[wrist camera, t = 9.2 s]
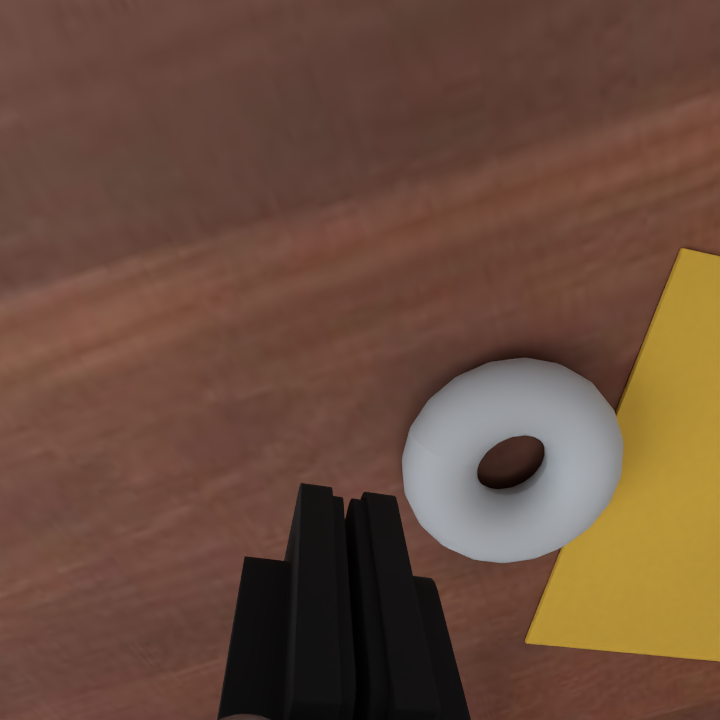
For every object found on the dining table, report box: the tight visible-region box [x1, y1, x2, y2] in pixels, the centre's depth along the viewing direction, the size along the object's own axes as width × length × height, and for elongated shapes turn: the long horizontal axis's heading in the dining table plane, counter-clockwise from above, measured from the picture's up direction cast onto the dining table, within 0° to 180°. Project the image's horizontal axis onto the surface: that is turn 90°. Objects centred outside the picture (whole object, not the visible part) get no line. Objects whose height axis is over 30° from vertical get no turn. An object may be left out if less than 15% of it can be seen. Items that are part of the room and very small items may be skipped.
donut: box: [402, 357, 624, 563], centre depth 26 cm, size 10×4×10 cm
